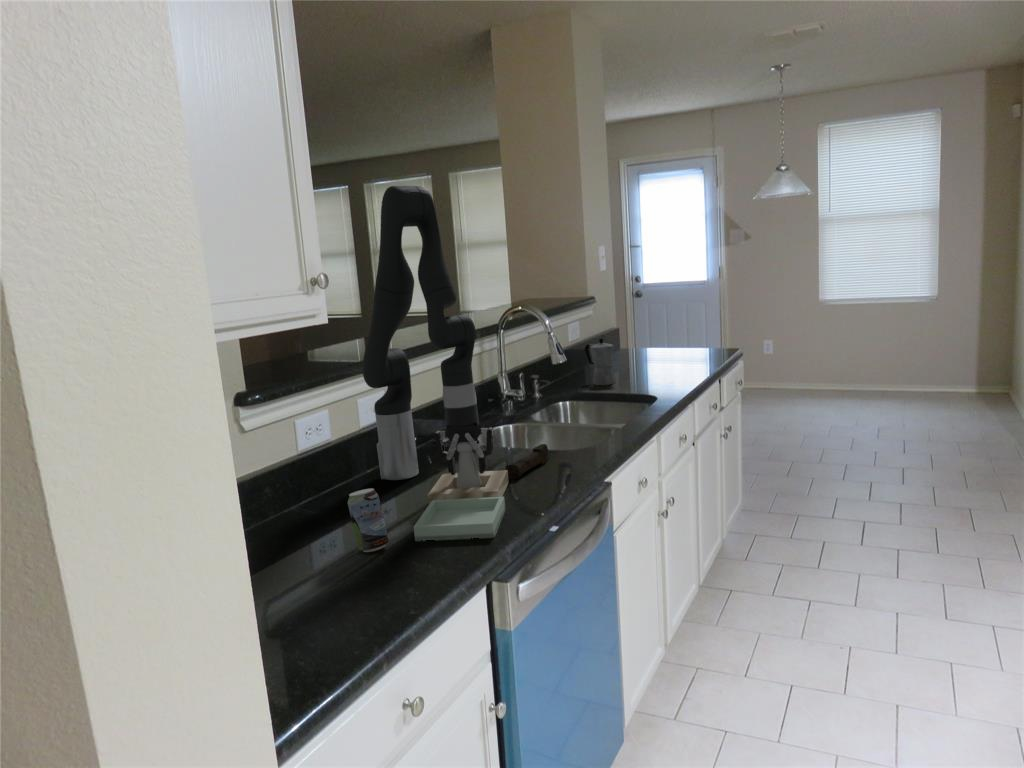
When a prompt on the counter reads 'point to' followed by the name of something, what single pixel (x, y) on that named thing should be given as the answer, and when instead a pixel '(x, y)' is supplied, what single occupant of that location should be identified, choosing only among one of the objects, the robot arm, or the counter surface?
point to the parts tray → (460, 519)
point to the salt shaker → (467, 467)
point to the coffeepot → (601, 362)
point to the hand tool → (528, 462)
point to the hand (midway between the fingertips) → (468, 473)
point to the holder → (491, 487)
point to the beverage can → (367, 520)
